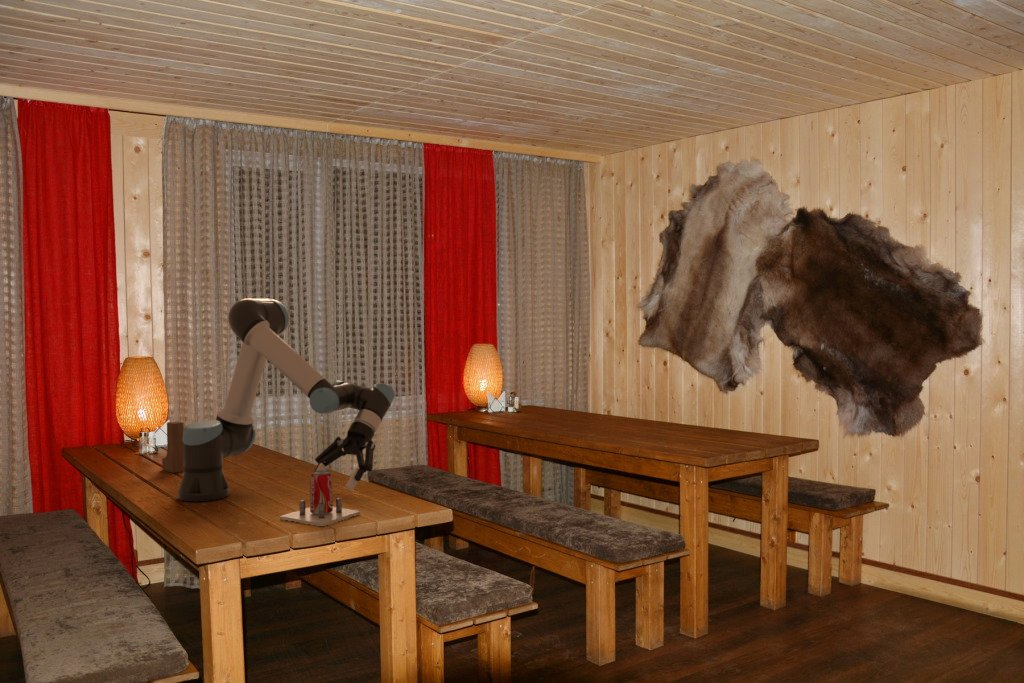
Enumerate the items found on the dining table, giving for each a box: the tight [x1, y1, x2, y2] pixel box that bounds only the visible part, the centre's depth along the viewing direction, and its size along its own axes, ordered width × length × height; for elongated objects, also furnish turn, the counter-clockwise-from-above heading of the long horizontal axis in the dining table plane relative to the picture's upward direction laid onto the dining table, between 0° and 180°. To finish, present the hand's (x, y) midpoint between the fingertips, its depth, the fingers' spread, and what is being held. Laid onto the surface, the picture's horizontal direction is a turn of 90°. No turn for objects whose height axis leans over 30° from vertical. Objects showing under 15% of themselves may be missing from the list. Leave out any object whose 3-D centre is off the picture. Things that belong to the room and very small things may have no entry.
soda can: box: [309, 470, 334, 516], centre depth 245 cm, size 6×6×12 cm
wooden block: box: [161, 420, 185, 474], centre depth 310 cm, size 9×4×18 cm, turn 46°
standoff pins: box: [298, 497, 343, 519], centre depth 245 cm, size 9×9×4 cm
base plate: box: [279, 506, 362, 527], centre depth 245 cm, size 16×16×1 cm
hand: (330, 486), depth 247 cm, fingers open, 13 cm apart
